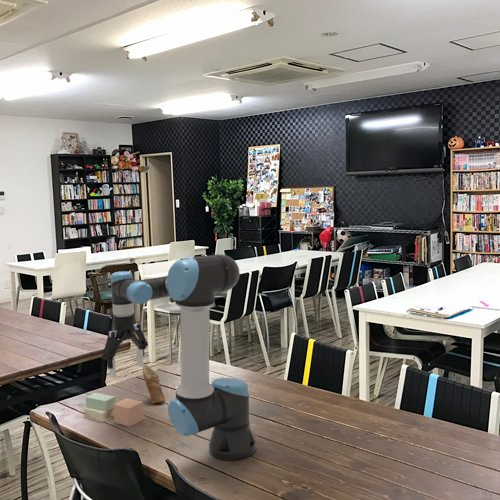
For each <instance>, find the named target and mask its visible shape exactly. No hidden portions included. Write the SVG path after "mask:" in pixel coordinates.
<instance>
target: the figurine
mask: <svg viewBox="0 0 500 500" xmlns="http://www.w3.org/2000/svg"><path fill="white" fill-rule="evenodd" d="M142 375H143V379H144V380H143V381H144V382H145V387H146V390H147V391H148V393H149V396H150V400H151V401H150V402H151V404H154V403H163V402H164V401H165V399H166V397H165V396H164V393H163V390H162V385H161V383H160V379H159V375H158V374H157V373H156V372H155V371H154V370H153V369H152V367H150V366H148V365H147V364H144V367H142Z"/></svg>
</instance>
